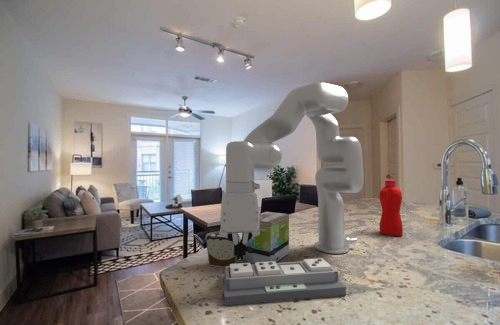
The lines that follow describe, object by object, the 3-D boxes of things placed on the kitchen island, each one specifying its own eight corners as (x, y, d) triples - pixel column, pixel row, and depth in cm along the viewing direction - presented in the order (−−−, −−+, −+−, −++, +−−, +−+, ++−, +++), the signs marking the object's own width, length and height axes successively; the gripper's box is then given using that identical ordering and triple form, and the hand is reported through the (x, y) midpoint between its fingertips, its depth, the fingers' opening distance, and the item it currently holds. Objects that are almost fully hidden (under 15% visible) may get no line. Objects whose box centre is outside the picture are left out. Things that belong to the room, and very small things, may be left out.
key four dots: (274, 268, 67) (274, 260, 67) (279, 277, 62) (279, 269, 62) (255, 270, 67) (255, 261, 67) (258, 279, 61) (258, 270, 61)
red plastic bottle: (402, 231, 115) (401, 179, 115) (402, 237, 106) (401, 180, 106) (380, 229, 120) (380, 179, 120) (379, 234, 111) (378, 180, 111)
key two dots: (250, 270, 66) (250, 262, 66) (253, 279, 61) (252, 270, 61) (229, 271, 66) (229, 263, 66) (230, 281, 60) (230, 272, 60)
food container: (246, 262, 81) (246, 232, 81) (239, 269, 75) (239, 237, 75) (213, 257, 85) (213, 229, 85) (204, 264, 79) (204, 234, 79)
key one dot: (298, 271, 68) (298, 263, 68) (306, 280, 63) (305, 271, 63) (279, 272, 68) (279, 264, 68) (285, 282, 62) (285, 273, 62)
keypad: (321, 270, 74) (321, 255, 74) (345, 295, 60) (345, 276, 60) (223, 277, 70) (223, 261, 70) (224, 305, 56) (224, 285, 56)
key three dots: (322, 265, 69) (322, 257, 69) (331, 274, 64) (331, 265, 64) (303, 266, 68) (303, 258, 69) (311, 275, 63) (311, 266, 63)
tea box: (271, 268, 76) (270, 221, 76) (244, 261, 81) (244, 218, 81) (289, 253, 88) (289, 213, 88) (265, 248, 94) (265, 210, 94)
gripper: (265, 187, 68) (264, 252, 68) (211, 187, 66) (211, 254, 66) (270, 189, 61) (270, 262, 60) (211, 189, 59) (210, 265, 58)
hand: (239, 258), depth 63 cm, fingers closed
